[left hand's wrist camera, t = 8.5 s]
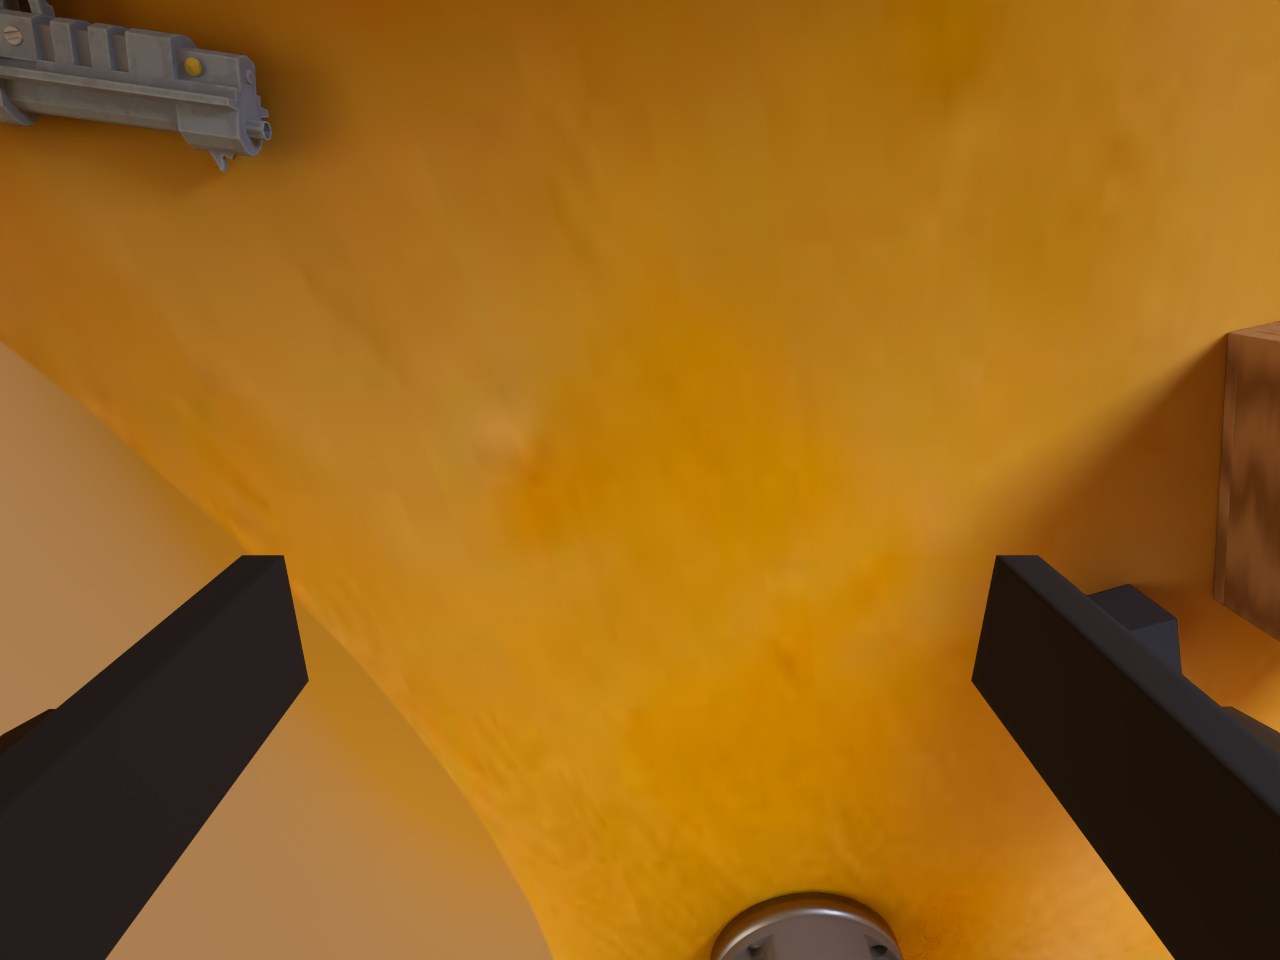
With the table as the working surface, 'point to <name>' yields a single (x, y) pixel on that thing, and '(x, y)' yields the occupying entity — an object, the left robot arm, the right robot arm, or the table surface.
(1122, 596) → the block
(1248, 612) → the chest
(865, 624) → the table surface
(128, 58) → the toy gun
